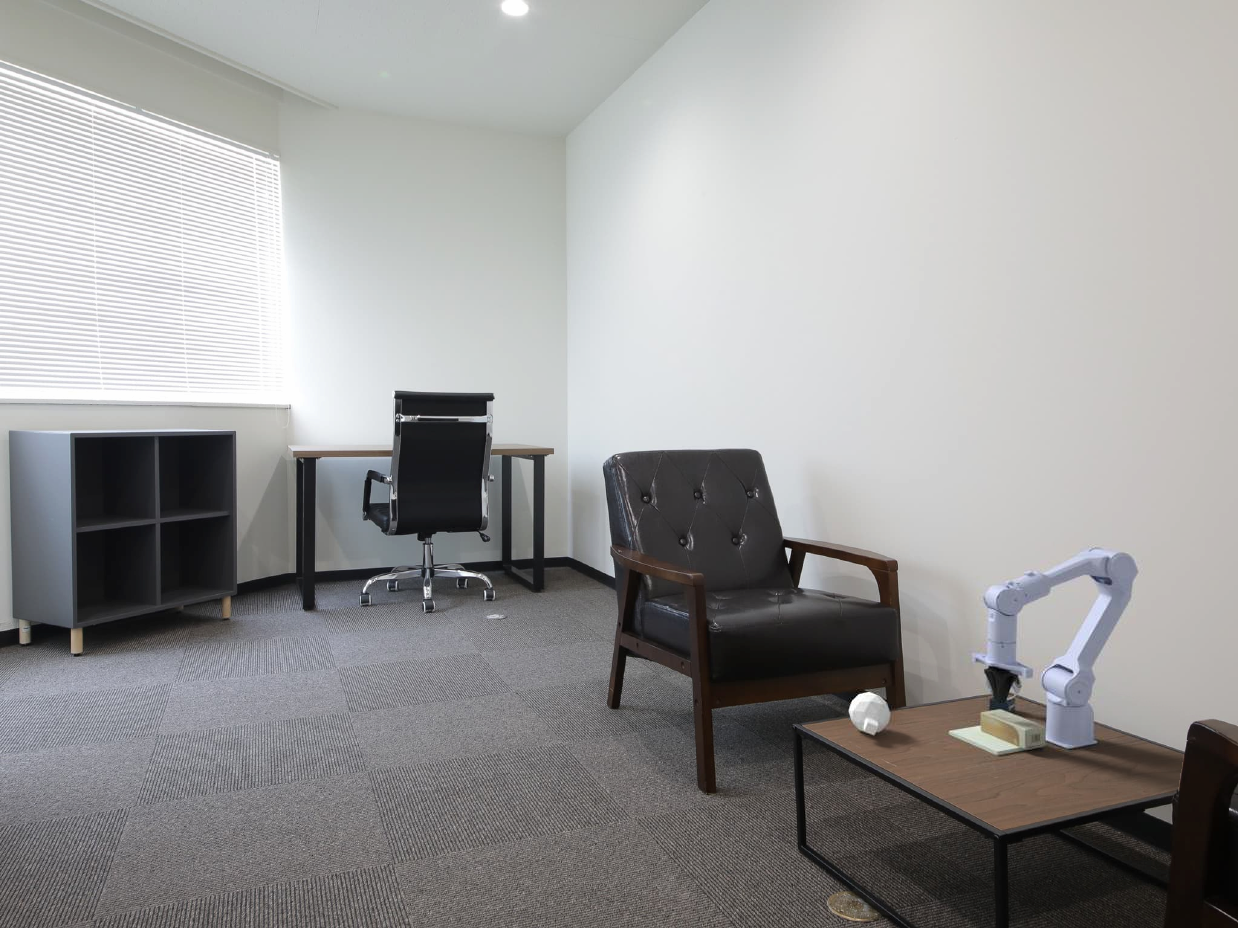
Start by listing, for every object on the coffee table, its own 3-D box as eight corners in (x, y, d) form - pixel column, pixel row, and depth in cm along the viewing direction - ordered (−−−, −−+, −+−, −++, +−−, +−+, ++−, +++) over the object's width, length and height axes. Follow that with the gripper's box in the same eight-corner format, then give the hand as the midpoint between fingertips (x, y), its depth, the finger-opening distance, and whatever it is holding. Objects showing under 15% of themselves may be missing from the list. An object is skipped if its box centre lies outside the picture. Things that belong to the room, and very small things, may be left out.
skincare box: (1046, 745, 174) (1001, 727, 185) (1046, 725, 174) (1001, 708, 185) (1024, 749, 172) (979, 730, 183) (1024, 729, 172) (979, 711, 183)
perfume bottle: (843, 713, 190) (844, 738, 178) (856, 679, 188) (859, 702, 176) (879, 727, 188) (883, 753, 177) (893, 693, 186) (898, 717, 175)
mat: (994, 726, 188) (994, 723, 188) (1044, 746, 176) (1044, 742, 176) (949, 734, 183) (949, 730, 183) (997, 755, 170) (997, 751, 170)
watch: (1016, 717, 194) (1017, 672, 194) (981, 710, 200) (982, 665, 200) (1023, 712, 199) (1024, 667, 198) (989, 704, 204) (990, 661, 204)
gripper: (962, 634, 183) (961, 694, 183) (1016, 650, 170) (1015, 714, 170) (985, 632, 186) (984, 690, 186) (1040, 647, 172) (1038, 710, 173)
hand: (1000, 701), depth 178 cm, fingers closed
